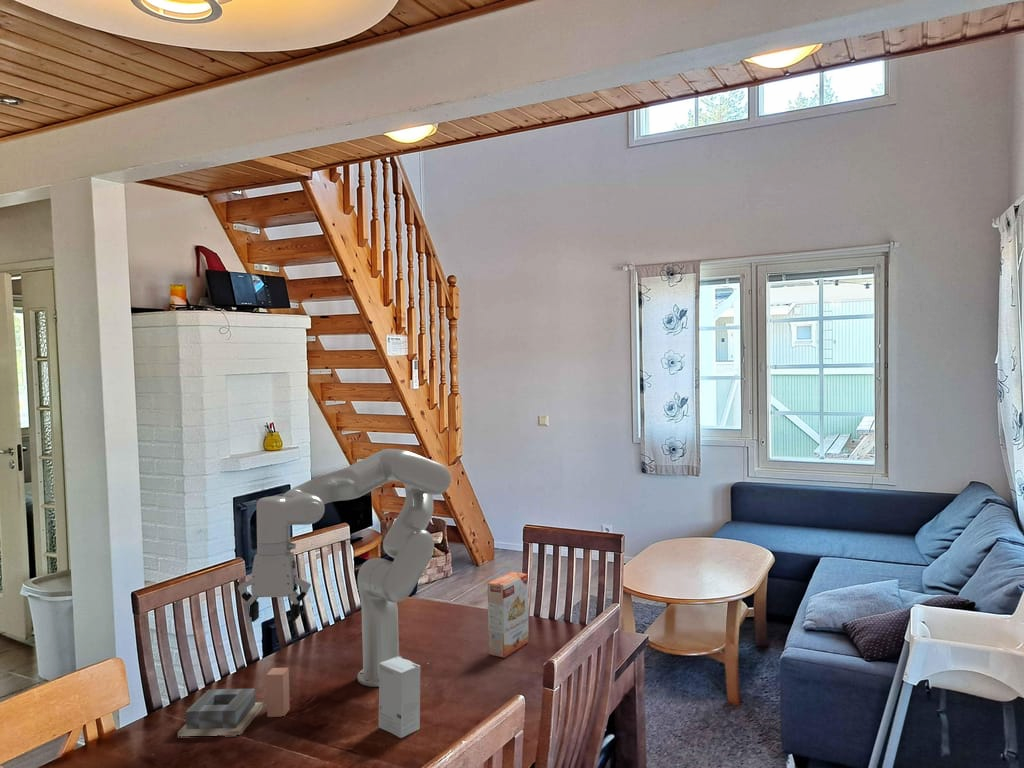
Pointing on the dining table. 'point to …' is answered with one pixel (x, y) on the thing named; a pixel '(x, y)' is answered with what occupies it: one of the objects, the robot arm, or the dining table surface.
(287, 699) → the peg
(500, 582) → the cracker box
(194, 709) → the socket block
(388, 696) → the skincare box
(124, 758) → the dining table surface
